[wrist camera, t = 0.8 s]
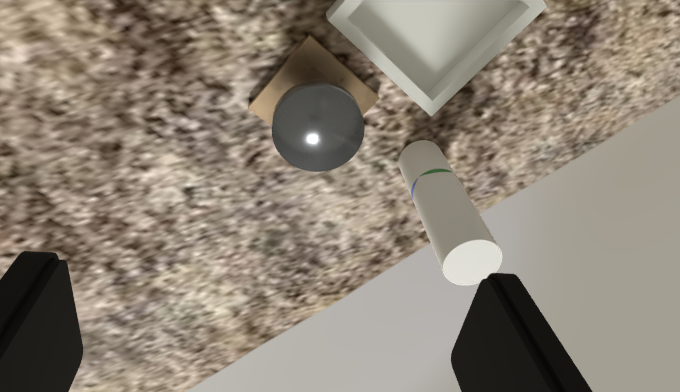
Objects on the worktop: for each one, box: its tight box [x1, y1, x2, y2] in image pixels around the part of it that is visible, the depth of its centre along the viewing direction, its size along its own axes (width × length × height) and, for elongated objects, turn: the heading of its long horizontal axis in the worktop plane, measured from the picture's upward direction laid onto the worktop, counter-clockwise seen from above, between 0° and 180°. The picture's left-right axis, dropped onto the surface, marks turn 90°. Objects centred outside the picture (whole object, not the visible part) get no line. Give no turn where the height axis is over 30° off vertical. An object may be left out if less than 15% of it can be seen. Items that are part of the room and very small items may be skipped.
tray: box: [326, 0, 547, 116], centre depth 36 cm, size 12×12×2 cm
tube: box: [399, 140, 502, 285], centre depth 39 cm, size 4×4×15 cm
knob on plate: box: [248, 33, 379, 172], centre depth 38 cm, size 8×8×7 cm
